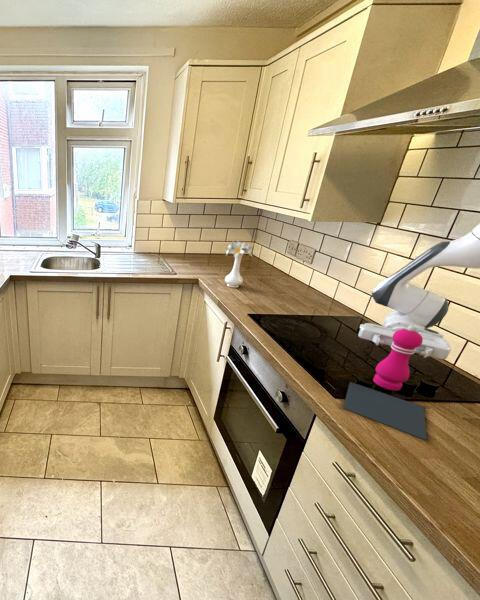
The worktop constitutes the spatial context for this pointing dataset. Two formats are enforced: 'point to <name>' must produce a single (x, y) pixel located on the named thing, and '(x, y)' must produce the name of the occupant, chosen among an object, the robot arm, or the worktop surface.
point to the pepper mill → (398, 359)
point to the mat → (386, 409)
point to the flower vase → (236, 262)
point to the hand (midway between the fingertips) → (400, 349)
